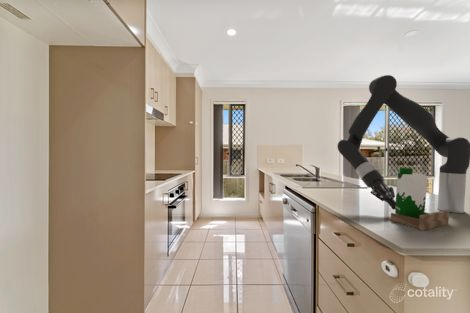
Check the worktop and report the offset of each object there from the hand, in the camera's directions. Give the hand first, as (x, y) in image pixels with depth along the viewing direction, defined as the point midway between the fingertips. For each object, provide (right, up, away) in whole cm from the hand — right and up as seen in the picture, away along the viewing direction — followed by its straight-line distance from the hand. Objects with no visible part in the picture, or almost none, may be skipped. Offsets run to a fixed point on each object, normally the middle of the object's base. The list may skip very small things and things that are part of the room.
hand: (396, 208), depth 101 cm
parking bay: (+3, -4, -6) cm, 8 cm away
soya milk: (+2, -4, -4) cm, 6 cm away
